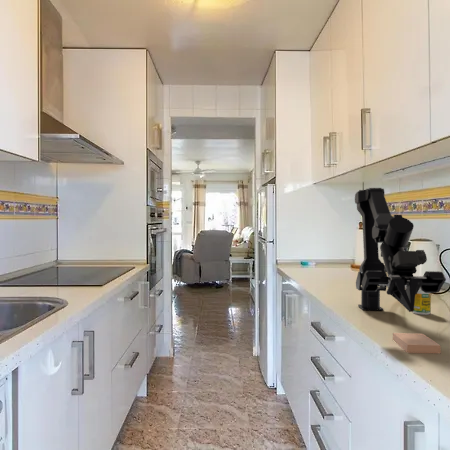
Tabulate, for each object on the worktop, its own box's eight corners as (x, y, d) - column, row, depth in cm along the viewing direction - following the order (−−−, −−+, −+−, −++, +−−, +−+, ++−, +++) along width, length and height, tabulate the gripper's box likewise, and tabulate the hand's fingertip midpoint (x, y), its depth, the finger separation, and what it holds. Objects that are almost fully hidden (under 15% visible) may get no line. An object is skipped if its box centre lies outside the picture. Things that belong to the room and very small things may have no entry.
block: (392, 332, 96) (407, 344, 87) (422, 333, 95) (440, 345, 86) (392, 341, 96) (407, 354, 87) (422, 342, 95) (440, 355, 86)
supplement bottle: (420, 310, 127) (420, 280, 127) (434, 314, 123) (435, 283, 122) (407, 312, 125) (407, 281, 125) (422, 315, 120) (422, 284, 120)
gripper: (365, 238, 99) (378, 290, 88) (442, 238, 98) (466, 291, 87) (356, 266, 107) (368, 317, 96) (428, 267, 106) (448, 318, 95)
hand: (411, 310), depth 93 cm, fingers closed
